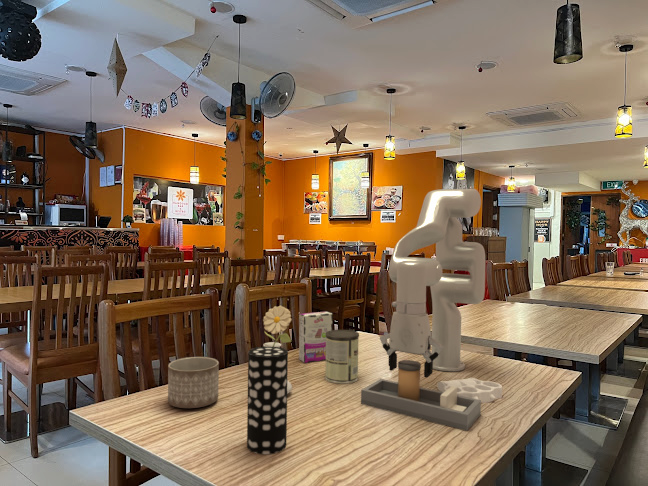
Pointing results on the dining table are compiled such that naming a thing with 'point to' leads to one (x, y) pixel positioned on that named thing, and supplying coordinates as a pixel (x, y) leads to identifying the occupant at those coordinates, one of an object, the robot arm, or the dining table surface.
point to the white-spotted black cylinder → (267, 399)
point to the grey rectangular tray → (421, 404)
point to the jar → (409, 379)
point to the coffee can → (341, 356)
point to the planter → (193, 382)
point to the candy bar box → (313, 335)
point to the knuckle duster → (474, 388)
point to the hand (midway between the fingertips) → (410, 372)
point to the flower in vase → (278, 328)
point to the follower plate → (451, 400)
